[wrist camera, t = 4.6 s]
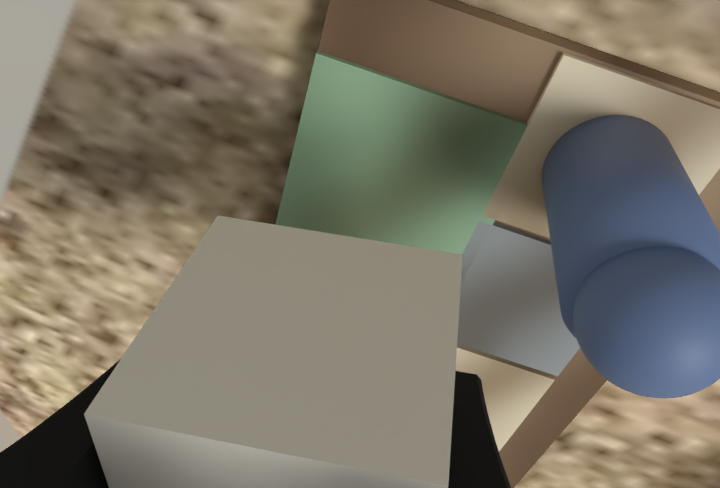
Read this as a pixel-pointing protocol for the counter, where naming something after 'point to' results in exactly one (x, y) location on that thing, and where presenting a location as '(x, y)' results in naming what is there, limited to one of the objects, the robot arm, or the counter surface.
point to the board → (477, 176)
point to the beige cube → (288, 367)
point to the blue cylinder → (634, 257)
